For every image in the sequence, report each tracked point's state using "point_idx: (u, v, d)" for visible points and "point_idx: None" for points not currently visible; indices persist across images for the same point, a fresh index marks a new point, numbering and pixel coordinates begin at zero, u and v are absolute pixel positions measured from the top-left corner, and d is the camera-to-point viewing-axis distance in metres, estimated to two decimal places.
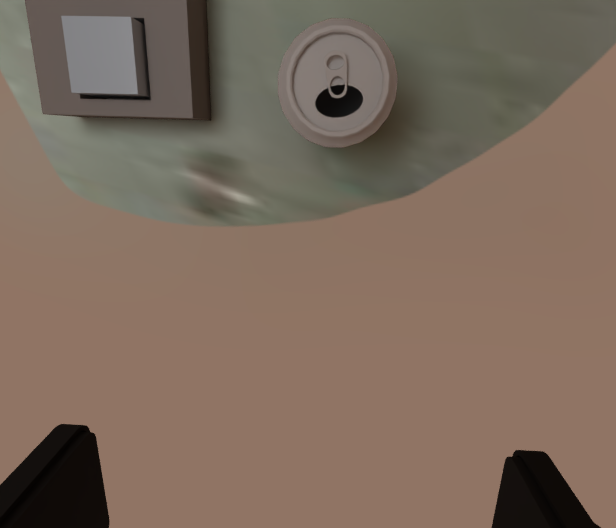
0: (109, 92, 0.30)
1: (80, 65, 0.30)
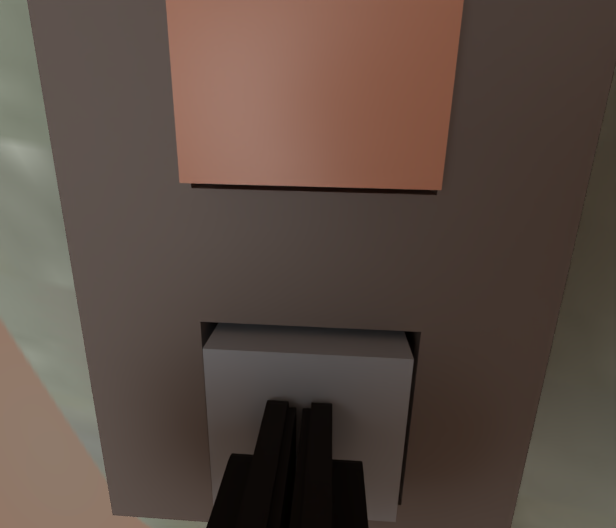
0: None
1: None
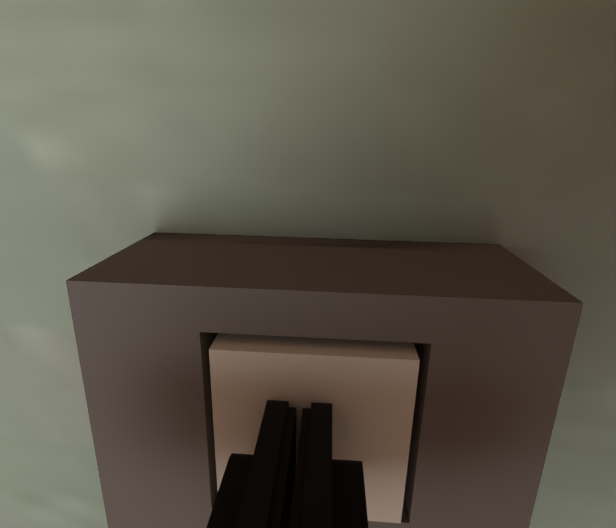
0: None
1: None
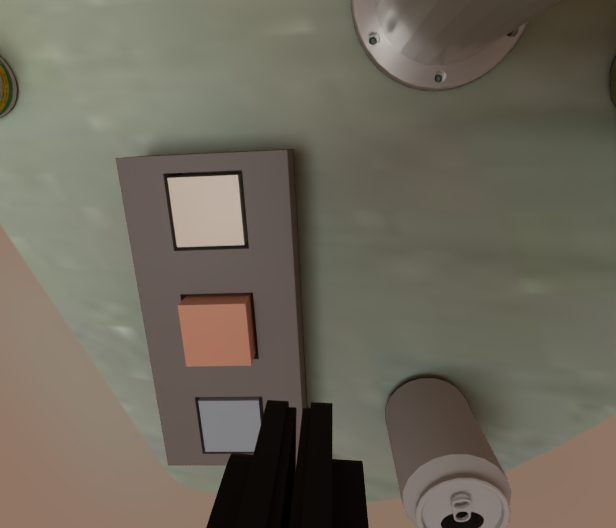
0: (238, 451, 0.35)
1: (213, 433, 0.35)
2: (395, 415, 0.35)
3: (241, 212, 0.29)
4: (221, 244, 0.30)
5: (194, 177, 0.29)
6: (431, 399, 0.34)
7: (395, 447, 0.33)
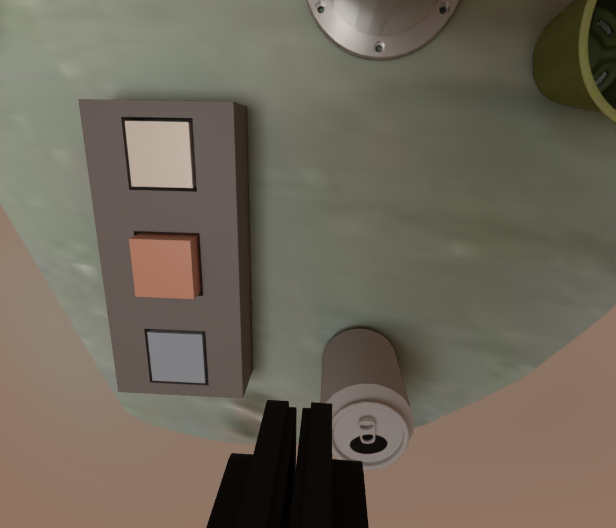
0: (182, 381, 0.38)
1: (160, 363, 0.38)
2: (327, 358, 0.38)
3: (191, 157, 0.32)
4: (172, 186, 0.33)
5: (149, 122, 0.32)
6: (358, 344, 0.37)
7: (322, 383, 0.36)
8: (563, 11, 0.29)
